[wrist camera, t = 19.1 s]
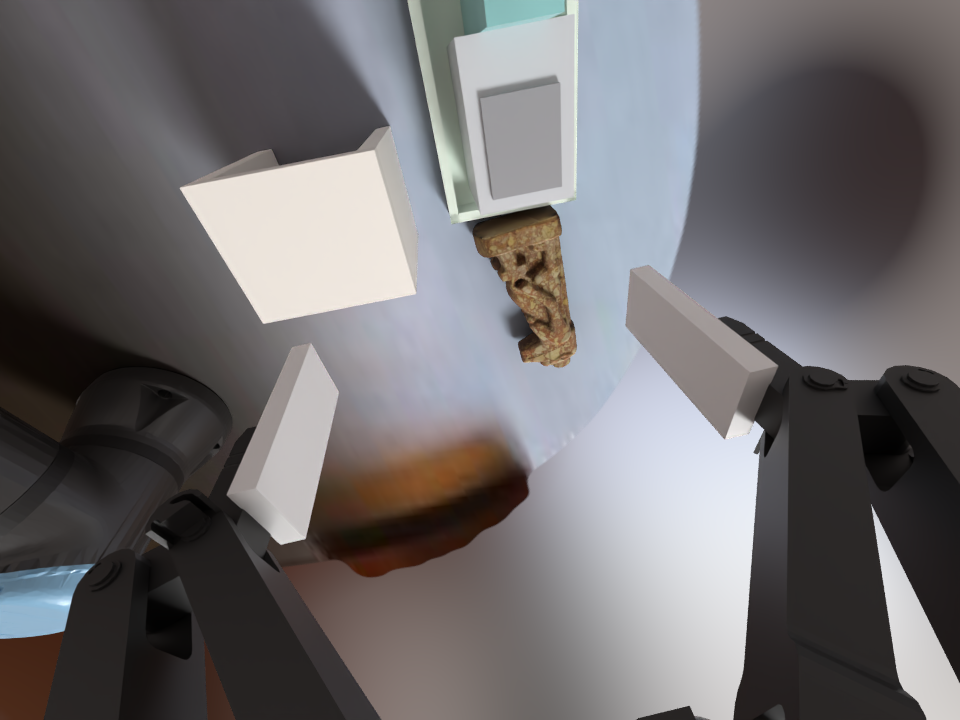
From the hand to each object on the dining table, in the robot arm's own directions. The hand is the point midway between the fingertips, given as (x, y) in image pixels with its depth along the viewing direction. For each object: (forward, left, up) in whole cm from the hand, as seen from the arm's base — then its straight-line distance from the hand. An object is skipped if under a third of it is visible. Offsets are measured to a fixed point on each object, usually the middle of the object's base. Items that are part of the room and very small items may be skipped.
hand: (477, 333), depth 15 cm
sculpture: (+7, -12, -25) cm, 29 cm away
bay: (-9, +1, -25) cm, 26 cm away
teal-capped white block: (+5, +8, -24) cm, 26 cm away
